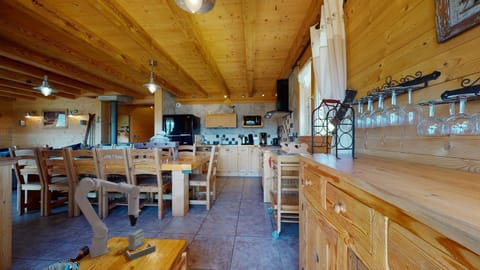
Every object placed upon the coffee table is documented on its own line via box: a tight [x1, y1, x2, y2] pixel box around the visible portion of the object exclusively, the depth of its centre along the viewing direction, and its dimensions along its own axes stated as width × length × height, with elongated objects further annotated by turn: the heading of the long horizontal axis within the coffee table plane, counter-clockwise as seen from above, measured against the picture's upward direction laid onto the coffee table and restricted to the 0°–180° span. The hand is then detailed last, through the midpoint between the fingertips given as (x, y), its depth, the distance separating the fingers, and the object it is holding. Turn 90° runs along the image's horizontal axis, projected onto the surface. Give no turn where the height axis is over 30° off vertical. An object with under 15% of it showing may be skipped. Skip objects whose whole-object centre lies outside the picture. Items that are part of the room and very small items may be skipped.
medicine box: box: [127, 229, 145, 251], centre depth 113 cm, size 8×4×9 cm, turn 168°
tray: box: [125, 242, 157, 262], centre depth 106 cm, size 9×13×3 cm
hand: (133, 225), depth 119 cm, fingers closed
